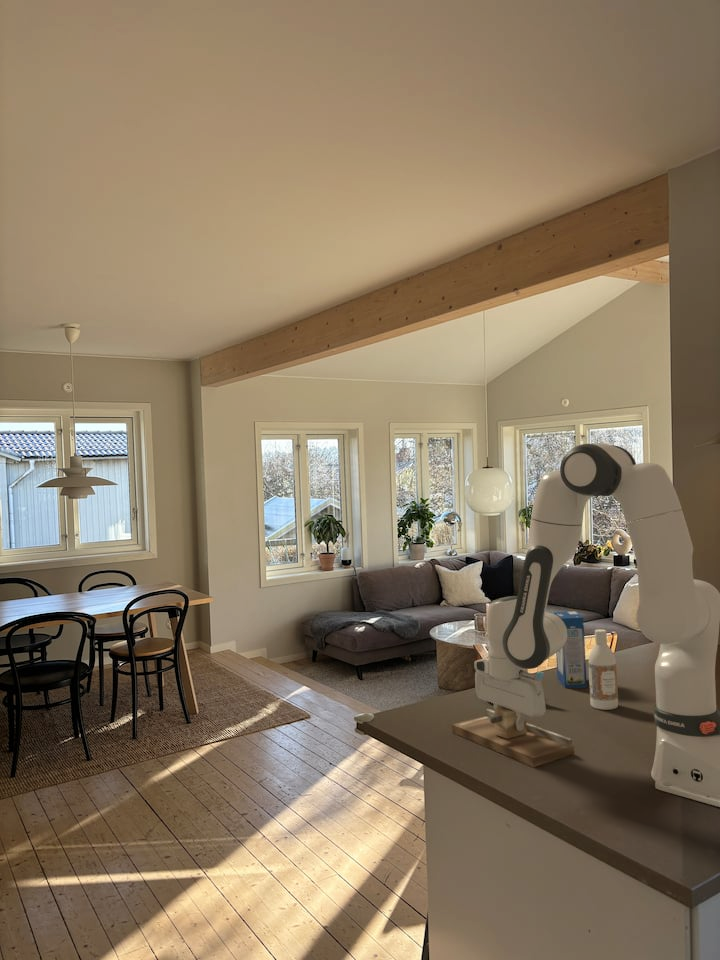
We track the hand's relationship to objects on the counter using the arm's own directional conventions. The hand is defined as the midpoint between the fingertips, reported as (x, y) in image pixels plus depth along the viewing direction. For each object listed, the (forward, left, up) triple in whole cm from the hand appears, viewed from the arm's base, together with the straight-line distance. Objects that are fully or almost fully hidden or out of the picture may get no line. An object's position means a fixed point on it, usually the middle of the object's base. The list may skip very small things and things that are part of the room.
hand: (510, 726), depth 176 cm
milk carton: (+27, -47, -4) cm, 54 cm away
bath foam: (+6, -37, -4) cm, 38 cm away
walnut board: (+1, 0, -4) cm, 4 cm away
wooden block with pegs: (0, 0, -2) cm, 2 cm away
